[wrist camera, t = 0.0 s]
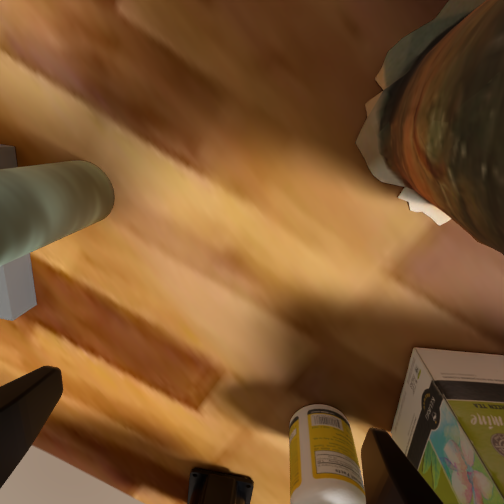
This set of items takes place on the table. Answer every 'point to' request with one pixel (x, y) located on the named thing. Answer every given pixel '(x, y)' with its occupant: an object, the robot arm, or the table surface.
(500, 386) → the tea box
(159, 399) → the table surface
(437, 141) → the vessel
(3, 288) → the holder board
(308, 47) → the table surface
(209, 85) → the table surface
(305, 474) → the supplement bottle
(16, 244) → the peg
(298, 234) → the table surface
